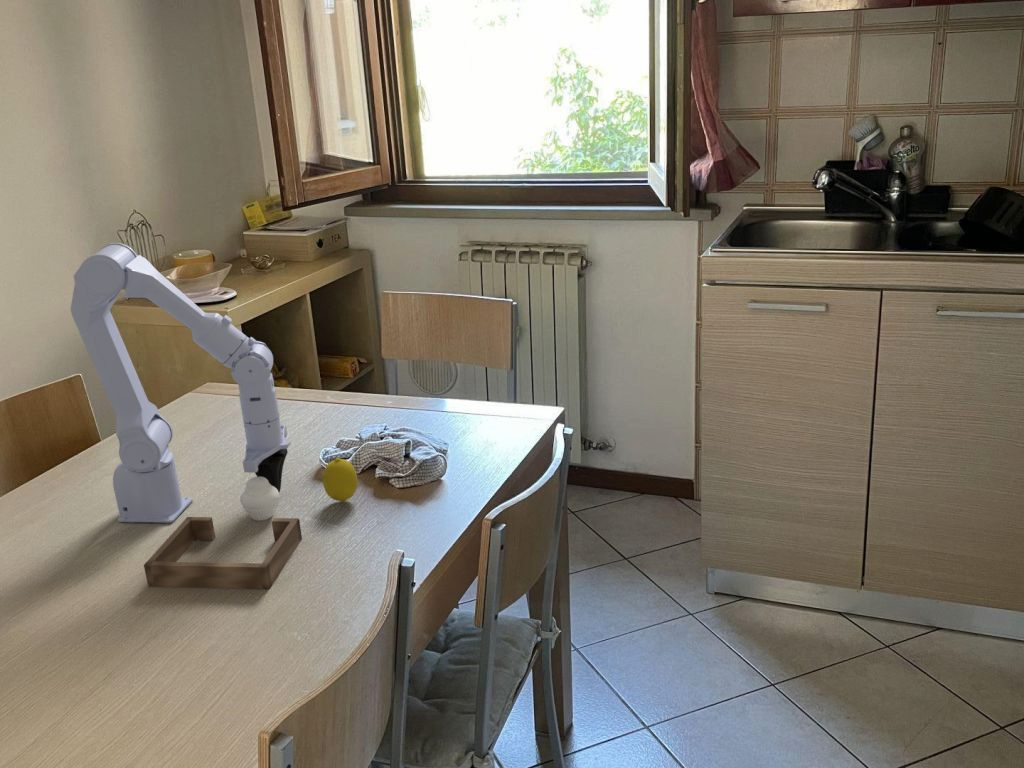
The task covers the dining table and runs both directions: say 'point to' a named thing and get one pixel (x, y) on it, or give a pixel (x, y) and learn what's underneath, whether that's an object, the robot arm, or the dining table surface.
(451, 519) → the dining table surface
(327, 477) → the lemon
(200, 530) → the brown wooden u-shaped frame
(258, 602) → the dining table surface
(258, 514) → the muffin
